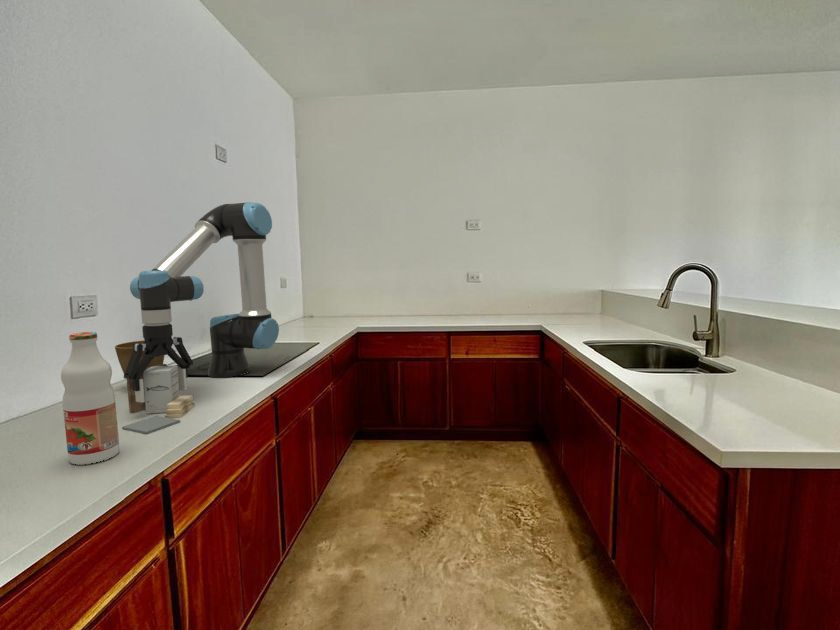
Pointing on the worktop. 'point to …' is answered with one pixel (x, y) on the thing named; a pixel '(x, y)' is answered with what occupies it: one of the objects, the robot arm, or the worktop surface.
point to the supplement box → (160, 387)
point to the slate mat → (151, 424)
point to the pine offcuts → (179, 406)
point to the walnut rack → (133, 404)
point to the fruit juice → (89, 403)
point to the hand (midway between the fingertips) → (162, 395)
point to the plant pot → (126, 351)
